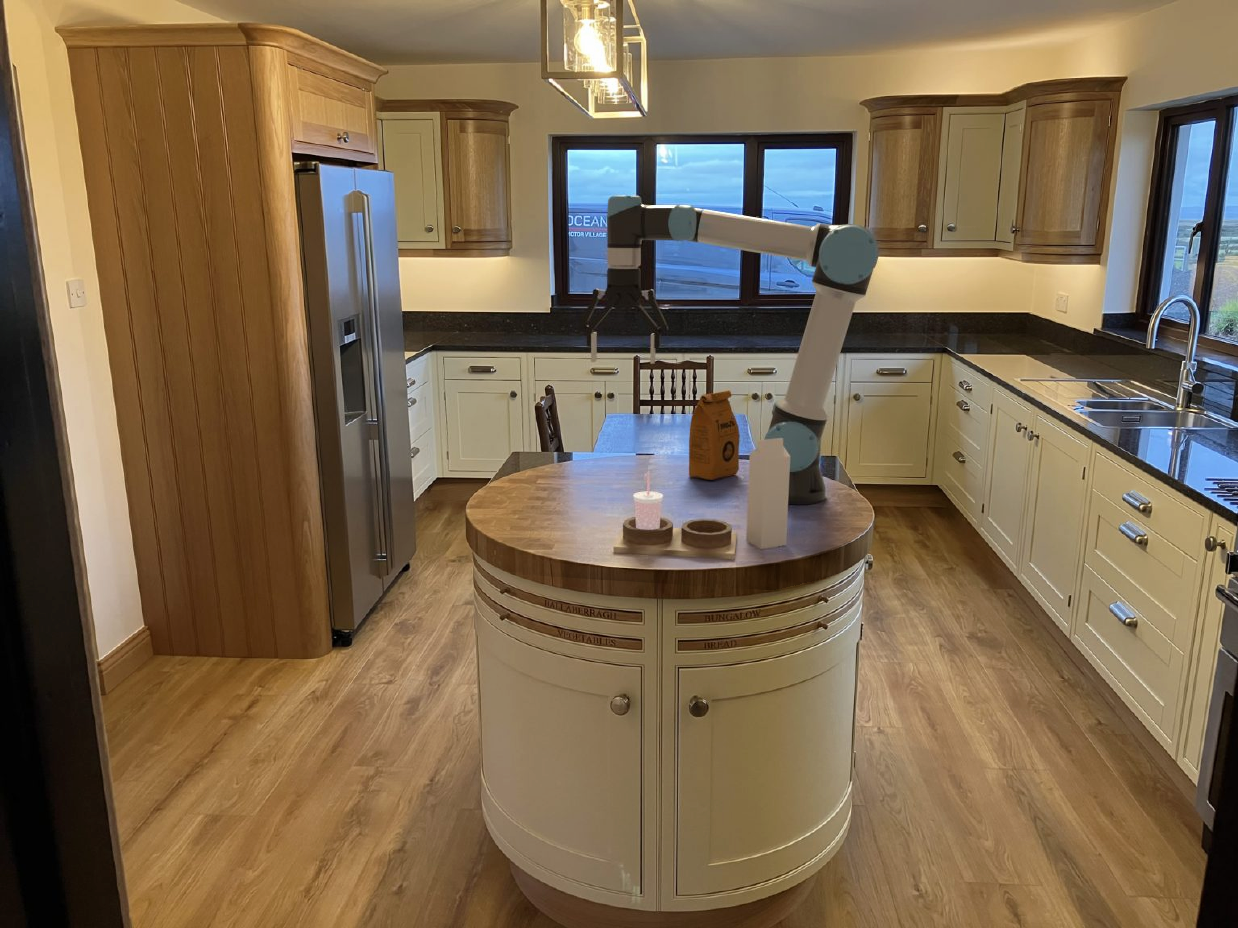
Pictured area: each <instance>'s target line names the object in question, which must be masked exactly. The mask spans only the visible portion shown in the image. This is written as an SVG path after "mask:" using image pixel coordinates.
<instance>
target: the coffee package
mask: <svg viewBox="0 0 1238 928" xmlns="http://www.w3.org/2000/svg"><path fill="white" fill-rule="evenodd" d="M731 397H732V392H731V390H729V389H728V390H726V391H725V390H724V391H718V392H715V393H714V392H713V393H707V394H703V395H700V397H699V400H698V402H697V404H696V406H695V408H694V409H693V413H692V415H691V420H690V425H689V438H688V439H689V441H688V476H689V477H691V478H698V479H704V480H710V481H711V480H716V479H720V478H728V477H730V476H734V475H737V474H738V471H739V470H740V468H739V467H740V465H739V463H740V457H739V456H740V455H739V453H740V449H739V448H740V439H741V437H740V436H741V435H740V429H739V428H740V427H739V425H738V424H739V423H738V422H737V419H736V416H735V414H734V412H733V411H732V405H731V403H730V400H729V398H731Z"/></svg>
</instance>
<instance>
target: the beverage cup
mask: <svg viewBox="0 0 1238 928" xmlns="http://www.w3.org/2000/svg"><path fill="white" fill-rule="evenodd" d="M646 472H647V473H646V474H647V475H646V476H647V478H646V479H647V481H646V487H647V488H646V490H645V491H639V492H635V493H633V498H632V499H633V501H634V514H635V516H634V517H636V528H638V529H647V530H653V529H659V527H660V517H661V513H662V501H663V500H664V494H662V493H661V492H657V491H650V490H651V489H650V487H651V486H650V485H651V484H650V480H651V477H650V476H651V473H650V472H651V471H650V470H648V471H646Z"/></svg>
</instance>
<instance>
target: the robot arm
mask: <svg viewBox="0 0 1238 928" xmlns="http://www.w3.org/2000/svg"><path fill="white" fill-rule="evenodd" d="M606 211H607V214H606V234H607V235H606V237H607V239H606V241H607V242H606V243H607V245H606V247H607V248H606V265H607V266H608V268H607V269H606V289H600V288H594V289H593V290H592V294H591V295H592V296H591V301H590V302H589V304H588V306H587V308H586V310H585V312H584V314H583V316H582V319H581V321H580V323H579V325H578V330H580V331H583V332H585V333H586V346H587V347H588V348H590V349H591V351H590V354H591V355H590V356H591V357H590V361H591V362H592V363H595V362H596V361H597V360H598V359H597V358H598V355H597V351H598V350H597V349H598V348H597V346H598V345H597V343H598V342H597V338H598V337H597V336H598V335H597V334H598V333H597V331H594V330H595V329H596V328H597V327H598V325H599V324H600V323H601V322H602V320H603V319H604V318H605V317H606V316H607V315H608V313H610V311H611V310H612V309H615V310H618V311H619V310H625V311H630V310H633V309H634V311H635V312H637V314H638V315H639V316H640V318H641V319H642V320H643V321H644V323H645V324H646V325H647V326H648V328H650V330H651V331H652V332H653V333H651V334H650V363H649V364H651V365H654V364H655V363H656V350H657V349H660V347H661V334H663V333H665V332H668V330H669V325H668V323H667V321H666V319H665V317H664V314H663V313H662V311H661V309H660V306H659V304H658V302H657V300H656V293H655V289H652V288H651V289H648V290H642V289H641V288H642V287H641V276H642V275H641V269H640V268H639V267H640V266H641V265H642V264H641V261H642V260H641V259H642V258H641V257H642V253H641V252H642V251H641V250H642V249H641V248H642V245H641V244H642V241H673V242H684V241H686V242H693V243H700V244H706V245H711V246H717V247H723V248H727V249H736V250H741V251H744V252H745V251H746V252H752V253H756V254H757V253H758V254H763V255H770V256H773V257H774V256H775V257H782V258H787V259H793V260H799V261H804V262H806V263H807V264H808V265H809V267H811V268H815V269H814V272H813V276H812V279H811V284H812V286H813V288H814V289H815V293H814V295H815V296H814V298H813V301H812V305H811V309H810V312H809V315H808V319H807V323H806V325H805V329H804V333H803V336H802V339H801V343H800V346H799V349H798V352H797V356H796V360H795V362H794V366H793V370H792V374H791V377H790V380H789V383H788V387H787V390H786V393H785V396H784V397H783V398H782V399H780V400H779V401H778V400H777V401H775V402H774V403H773V404H772V405H773V406H772V409H771V420H770V423H769V427H768V431H767V432H766V434H765V436H764V438H763V440H767V439H777V438H783V446H784V448H785V449H786V451H787V452H788V454H789V455H790V474H789V494H788V505H812V504H817V503H820V502H823V501H824V500H826V493H827V488H826V484H825V480H824V477H823V474H822V471H821V470H822V469H821V463H820V462H821V451H822V450H821V446H822V437H823V434H824V430H825V427H826V424H827V421H828V414H827V413H826V411H825V409H824V407H825V403H826V400H827V397H828V393H829V391H830V387H831V384H832V381H833V377H834V374H835V371H836V367H837V364H838V361H839V358H840V355H841V351H842V348H843V345H844V341H845V337H846V335H847V331H848V328H849V325H850V323H851V319H852V315H853V312H854V309H855V305H856V303H857V302H858V301H859V300H860V299H863V298H864V297H865V296H866V295H867V291H868V289H869V286H870V281H871V278H872V275H873V272H874V269H875V268H876V266H877V263H878V260H879V254H880V253H879V251H880V250H879V245H878V241H877V240H876V238H875V237H876V236H875V235H873V234H872V232H871V231H870V230H868V229H867V228H866V227H864V226H862V225H858V224H854V223H846V224H825V223H820V222H819V223H817V224H816V225H814V226H809V225H805V224H804V225H803V224H798V223H791V222H786V221H785V222H784V221H778V220H773V219H766V218H760V217H753V216H747V215H742V214H736V213H730V212H723V211H722V212H721V211H718V210H717V211H716V210H711V209H702V208H699V207H694V206H692V205H685V204H660V205H659V204H658V205H655V204H654V205H649V204H643V202H642V198H641V196H639V195H612V196H610V197H609V198H608V200H607V210H606ZM603 296H604V297H605V298H606V299H607V301H608V302H607V304H605V306H604V307H603V309H602V310H601V311H600V312H599V314H598V315H597V316H596V317H595V318H594V319H593V321H591V322H590V319H591V317H592V315H593V313H594V312H595V311H594V310H595V309H596V307H597V304H598V302H599V300H601V299H602V298H603ZM643 297H644V298H645V300H646V301H648V302H649V305H650V307H651V310H652V311H653V313H654V314H653V315H654V316H655V318H656V320H657V323H658V324H659V326H660V327H659V326H658V324H657V323H656V322H655V321H654V320H653V319H652V317H651V316H650V315H649V313H648V312H647V310H645V308H643V305H642V304H641V302H639V301H640V300H641V298H643ZM589 322H590V324H589V325H588V323H589ZM591 362H590V363H591Z"/></svg>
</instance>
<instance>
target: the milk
mask: <svg viewBox="0 0 1238 928" xmlns="http://www.w3.org/2000/svg"><path fill="white" fill-rule="evenodd" d="M748 464H749V465H748V486H747V511H746V513H747V514H746V537H745V539H746V541H747V542H748V543H749V544H751V545H753V546H755V547H756V548H759V549H760V550H765V549H771V548H773V549H774V548H779V547H778V546H780V547H783V546H782V545H787V533H788V532H787V531H788V529H787V528H788V511H789V509H788V508H789V504H788V494H789V474H790V455H789V454H788V452H787V451H786V449H785V448H784V446H783V438H777V439H767V440H764V439H759V440H758V441H757V447H756V448H755V449H753V450H752V451H750V452H749V462H748Z"/></svg>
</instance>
